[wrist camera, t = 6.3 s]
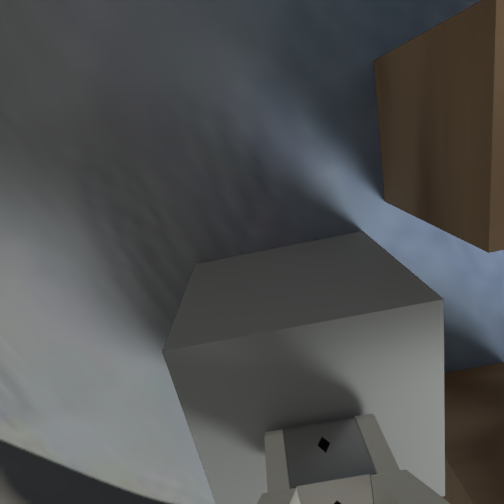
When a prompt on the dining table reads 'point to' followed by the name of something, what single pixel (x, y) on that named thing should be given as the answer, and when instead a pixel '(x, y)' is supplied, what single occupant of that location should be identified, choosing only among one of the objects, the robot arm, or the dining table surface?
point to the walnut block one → (447, 125)
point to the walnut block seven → (474, 435)
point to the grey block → (307, 356)
